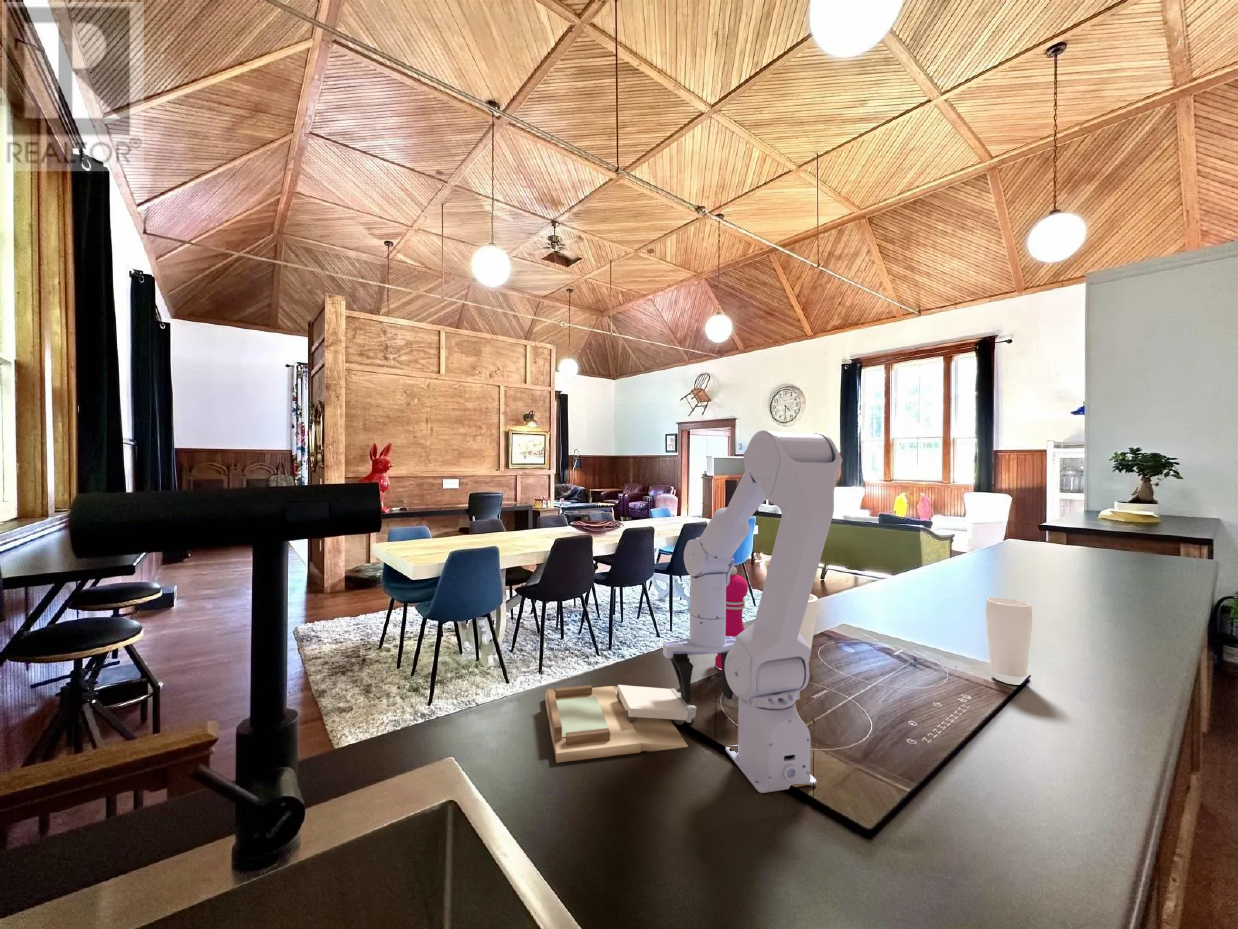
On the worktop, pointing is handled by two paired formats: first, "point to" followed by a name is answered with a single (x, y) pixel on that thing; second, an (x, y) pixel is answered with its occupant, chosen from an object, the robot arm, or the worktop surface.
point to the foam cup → (809, 620)
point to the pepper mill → (734, 608)
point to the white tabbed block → (654, 704)
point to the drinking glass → (1009, 635)
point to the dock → (602, 725)
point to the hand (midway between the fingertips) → (706, 698)
